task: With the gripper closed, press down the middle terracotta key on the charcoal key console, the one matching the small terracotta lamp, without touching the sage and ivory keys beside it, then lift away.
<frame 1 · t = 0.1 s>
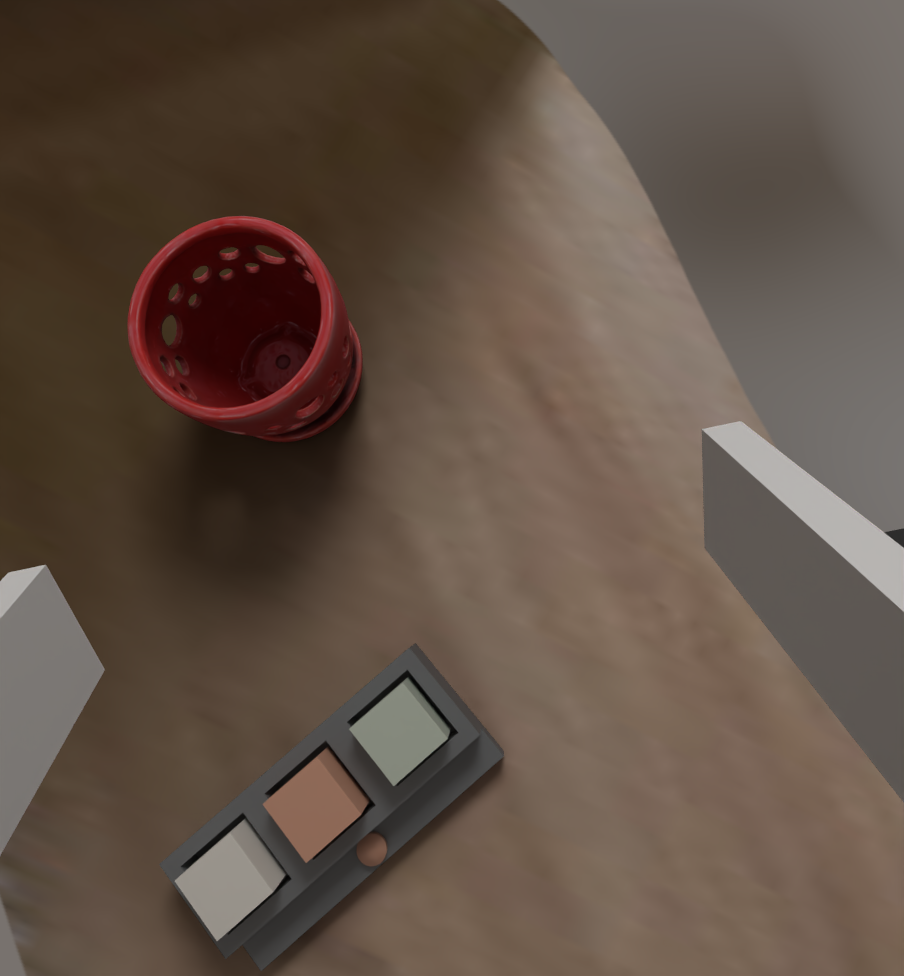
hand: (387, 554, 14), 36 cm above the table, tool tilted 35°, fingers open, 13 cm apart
sage key: (401, 728, 43), point 4 cm above the table, slide at 0.0 cm
ivory key: (232, 876, 43), point 4 cm above the table, slide at 0.0 cm
plant pot: (288, 376, 52), on the table
terracotta key: (317, 801, 43), point 4 cm above the table, slide at 0.0 cm
key console: (342, 794, 47), on the table
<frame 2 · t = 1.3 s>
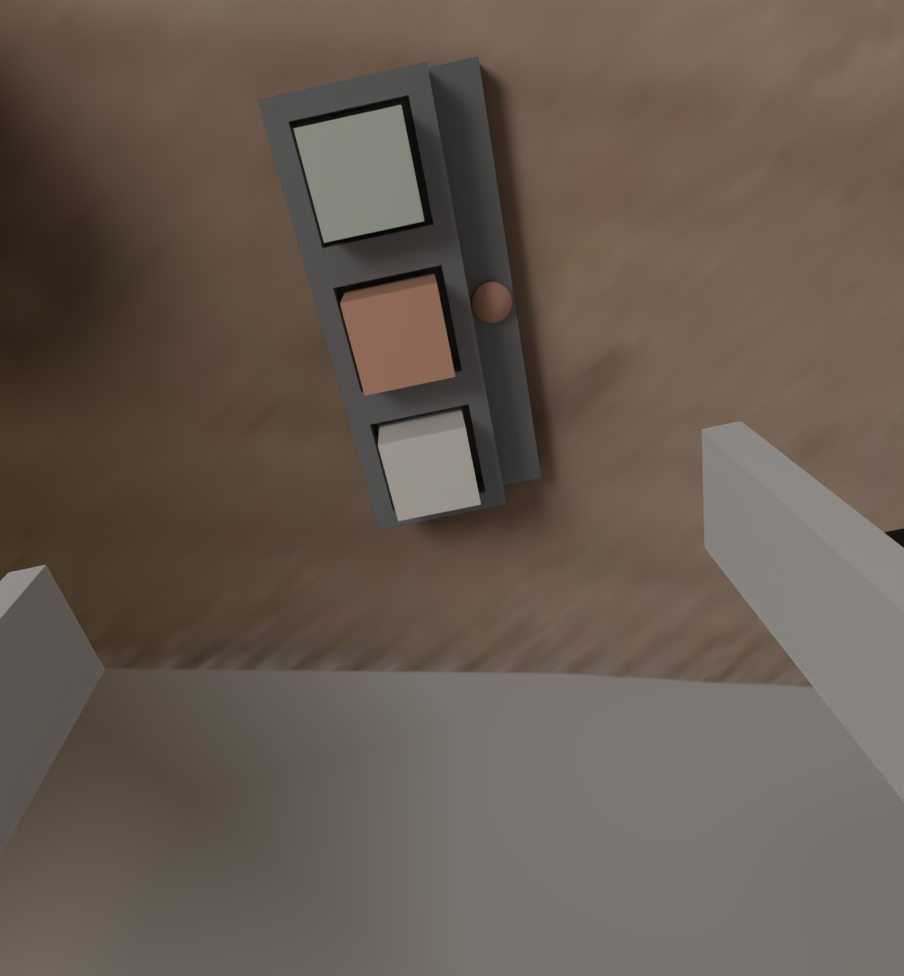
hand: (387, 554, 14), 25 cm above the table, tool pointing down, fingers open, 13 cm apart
sage key: (363, 175, 29), point 4 cm above the table, slide at 0.0 cm
ivory key: (429, 463, 35), point 4 cm above the table, slide at 0.0 cm
terracotta key: (399, 333, 32), point 4 cm above the table, slide at 0.0 cm
key console: (418, 310, 36), on the table
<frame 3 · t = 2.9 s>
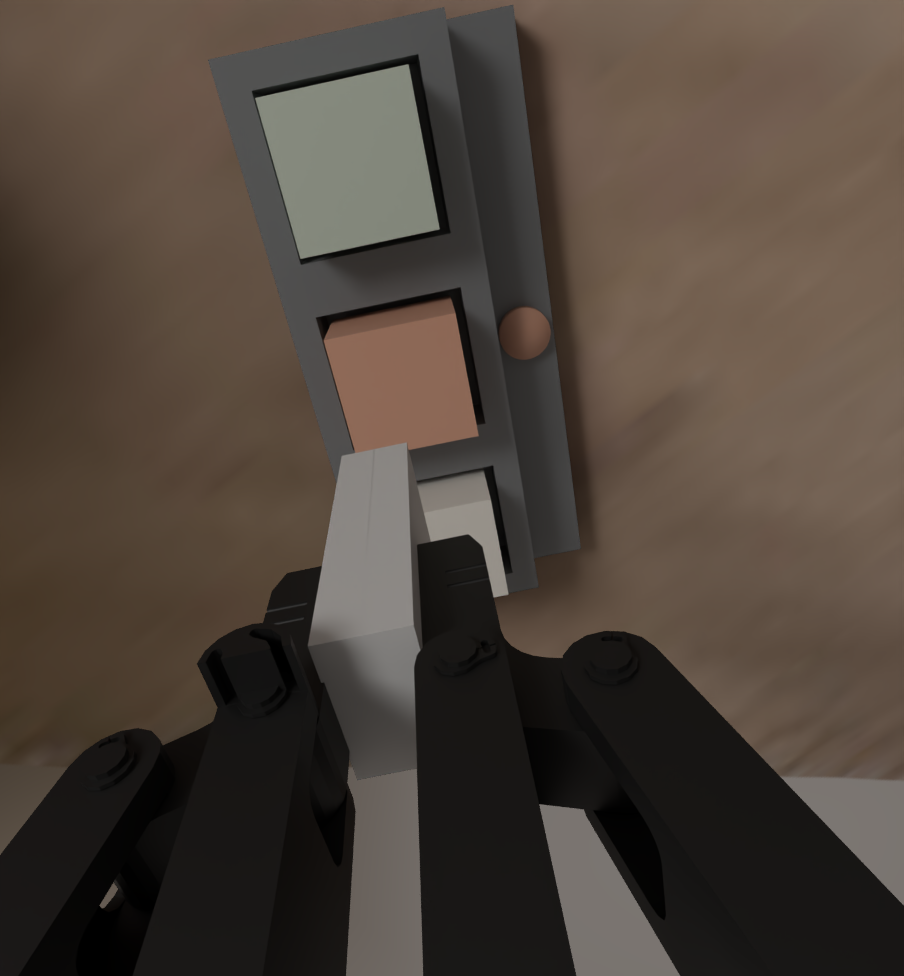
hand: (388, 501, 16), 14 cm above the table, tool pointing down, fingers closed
sage key: (355, 165, 21), point 4 cm above the table, slide at 0.0 cm
ivory key: (442, 539, 27), point 4 cm above the table, slide at 0.0 cm
terracotta key: (404, 376, 24), point 4 cm above the table, slide at 0.0 cm
key console: (428, 341, 28), on the table
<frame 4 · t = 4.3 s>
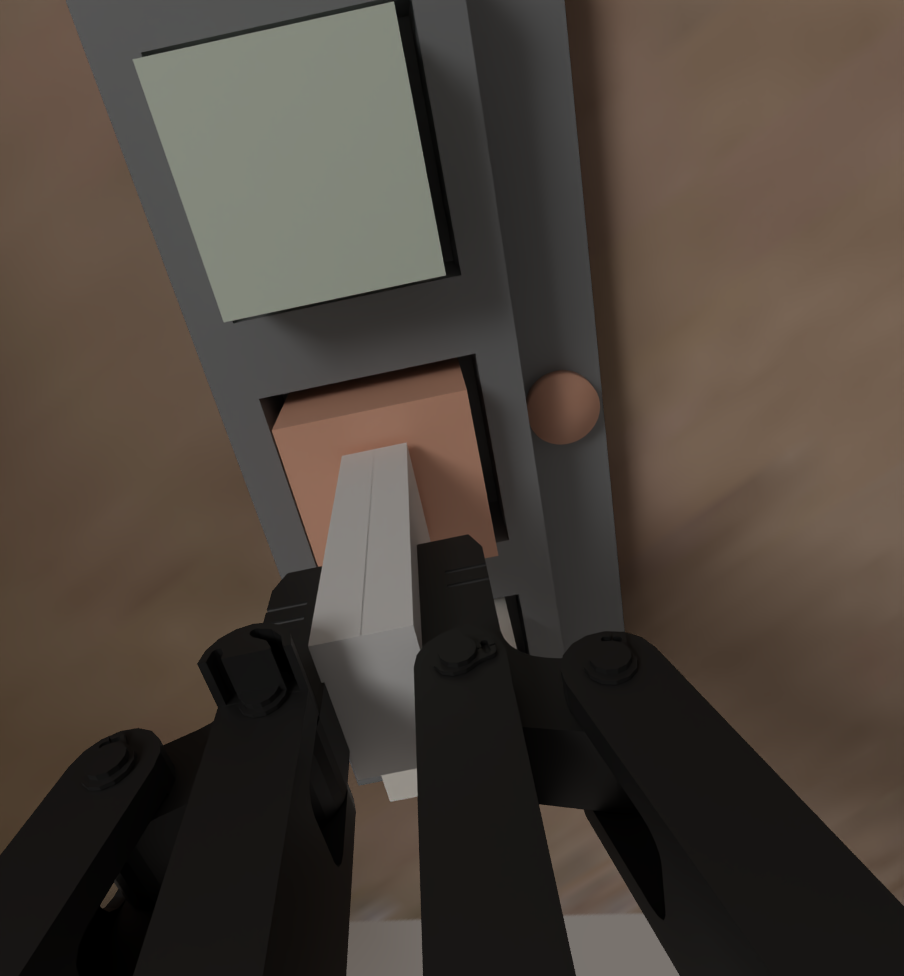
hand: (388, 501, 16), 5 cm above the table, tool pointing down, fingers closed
sage key: (311, 173, 13), point 4 cm above the table, slide at 0.0 cm
ivory key: (447, 693, 20), point 4 cm above the table, slide at 0.0 cm
terracotta key: (392, 469, 17), point 4 cm above the table, slide at 0.8 cm, touching gripper
key console: (425, 413, 20), on the table
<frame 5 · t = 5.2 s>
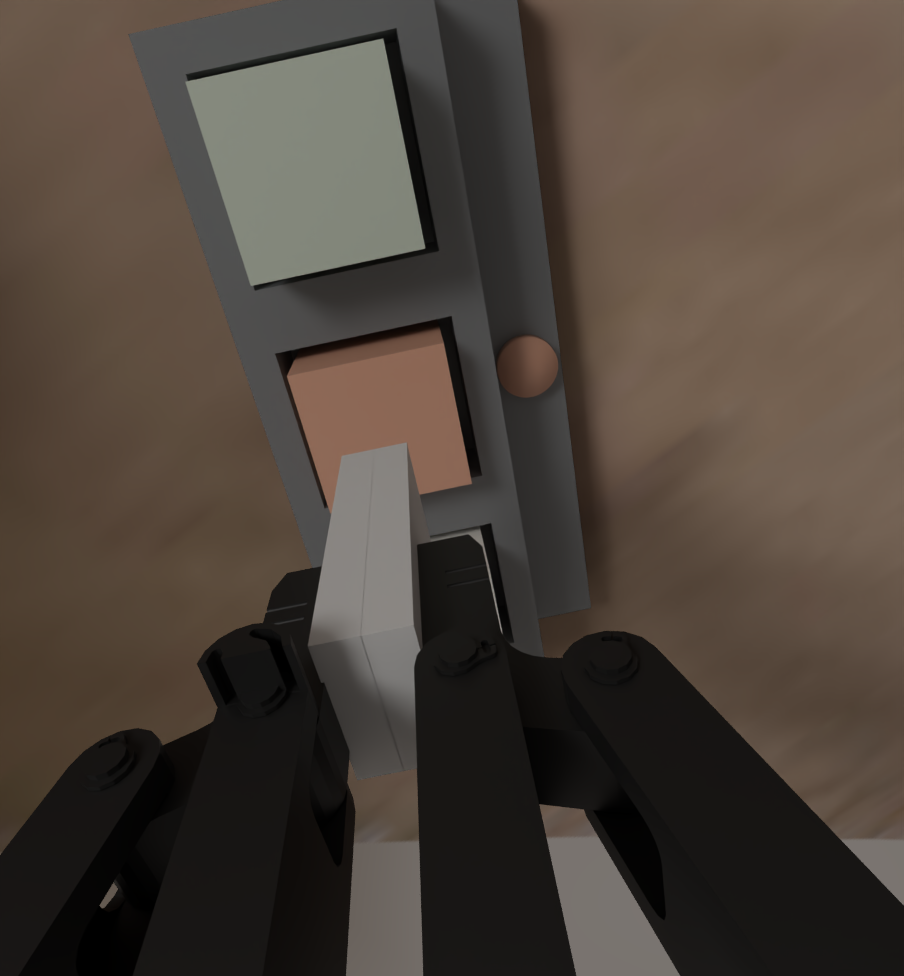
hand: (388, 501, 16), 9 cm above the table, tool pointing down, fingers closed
sage key: (318, 168, 17), point 4 cm above the table, slide at 0.0 cm
ivory key: (431, 609, 23), point 4 cm above the table, slide at 0.0 cm
terracotta key: (384, 414, 21), point 4 cm above the table, slide at 0.8 cm
key console: (412, 374, 24), on the table
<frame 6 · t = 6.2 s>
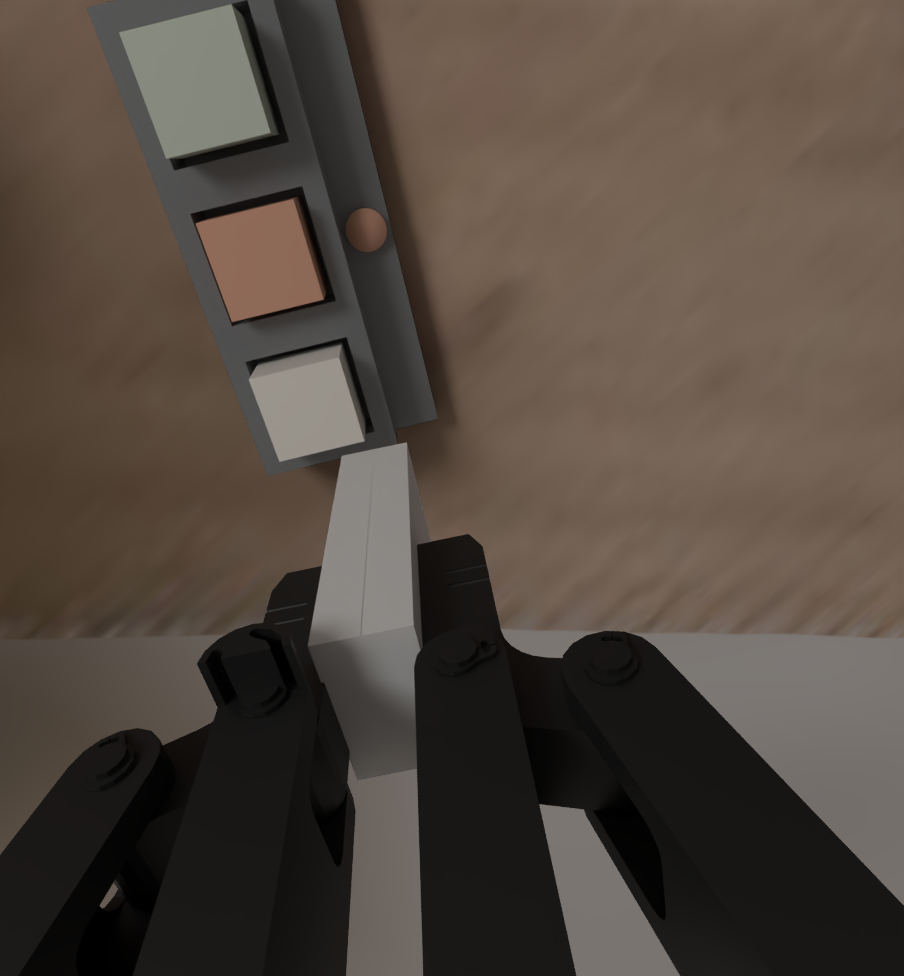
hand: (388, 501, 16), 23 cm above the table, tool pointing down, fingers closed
sage key: (206, 87, 28), point 4 cm above the table, slide at 0.0 cm
ivory key: (311, 401, 34), point 4 cm above the table, slide at 0.0 cm
terracotta key: (266, 258, 32), point 4 cm above the table, slide at 0.8 cm
key console: (295, 244, 35), on the table
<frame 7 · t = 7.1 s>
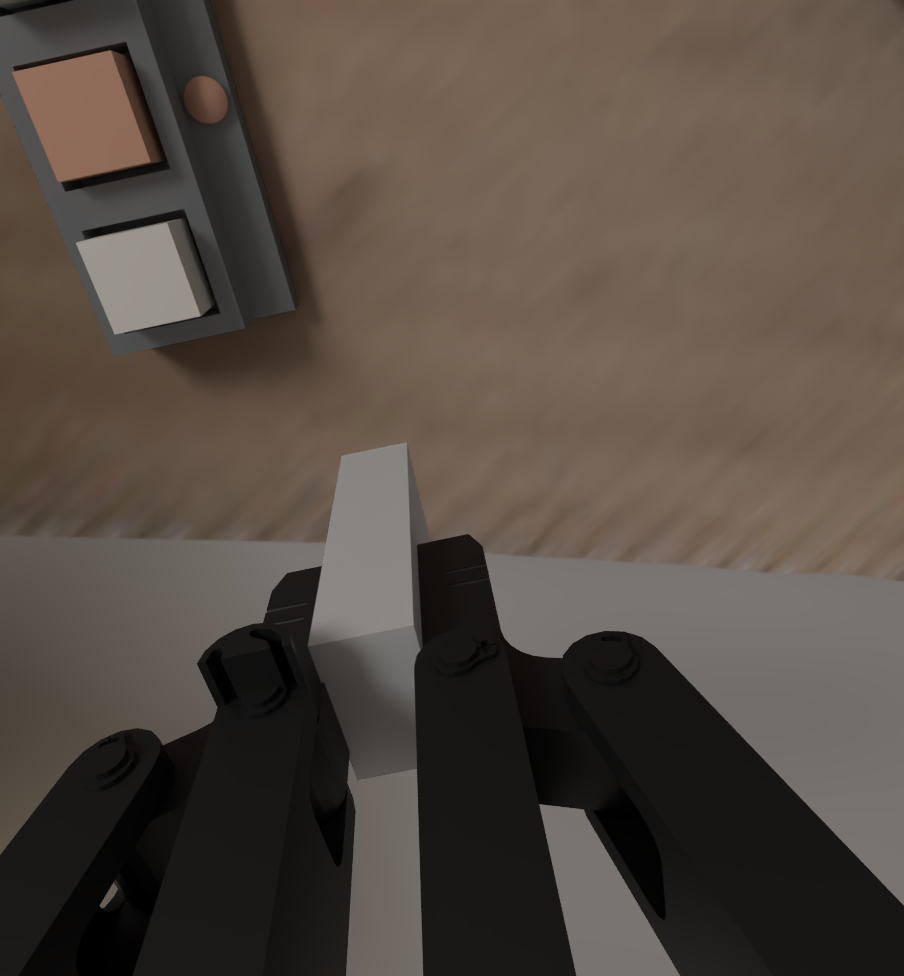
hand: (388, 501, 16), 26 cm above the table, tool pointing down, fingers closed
ivory key: (150, 275, 34), point 4 cm above the table, slide at 0.0 cm
terracotta key: (96, 119, 31), point 4 cm above the table, slide at 0.8 cm
key console: (143, 118, 34), on the table
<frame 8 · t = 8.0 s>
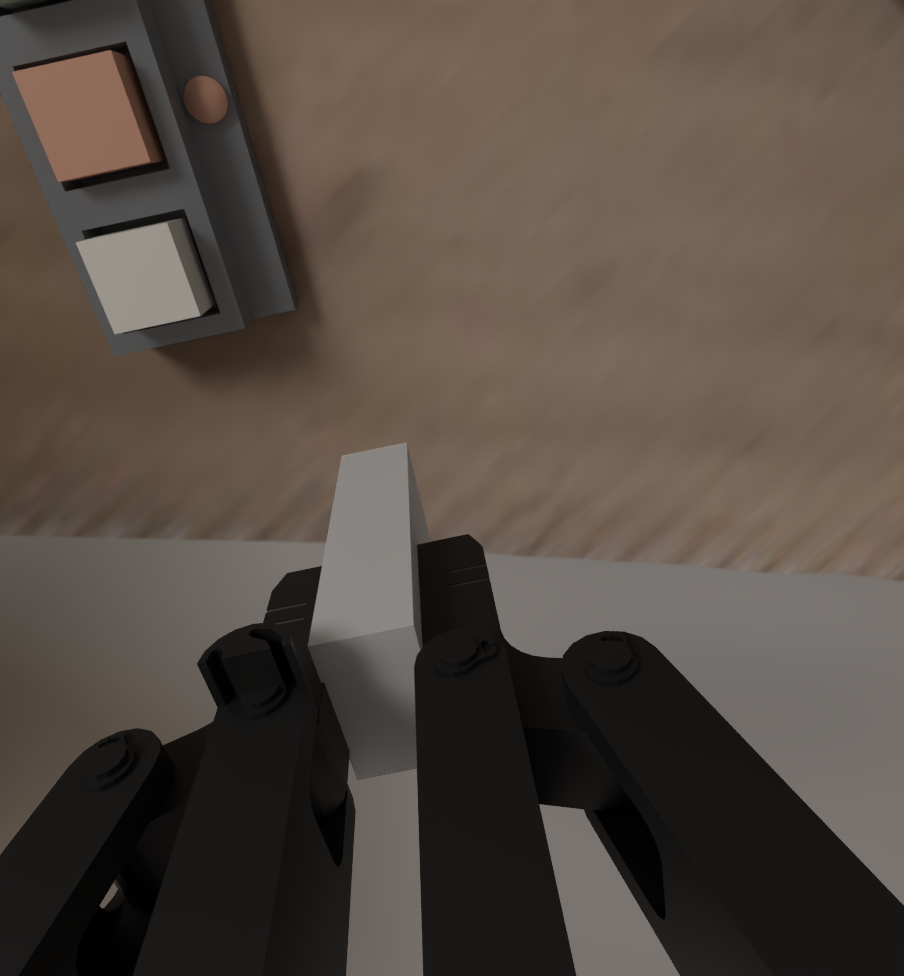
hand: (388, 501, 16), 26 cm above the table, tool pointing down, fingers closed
ivory key: (150, 275, 34), point 4 cm above the table, slide at 0.0 cm
terracotta key: (96, 119, 31), point 4 cm above the table, slide at 0.8 cm
key console: (142, 118, 34), on the table
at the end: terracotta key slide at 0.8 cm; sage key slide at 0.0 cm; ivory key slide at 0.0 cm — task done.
